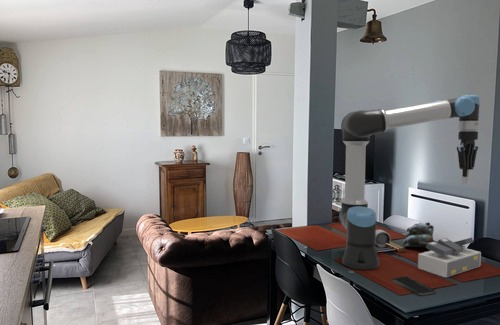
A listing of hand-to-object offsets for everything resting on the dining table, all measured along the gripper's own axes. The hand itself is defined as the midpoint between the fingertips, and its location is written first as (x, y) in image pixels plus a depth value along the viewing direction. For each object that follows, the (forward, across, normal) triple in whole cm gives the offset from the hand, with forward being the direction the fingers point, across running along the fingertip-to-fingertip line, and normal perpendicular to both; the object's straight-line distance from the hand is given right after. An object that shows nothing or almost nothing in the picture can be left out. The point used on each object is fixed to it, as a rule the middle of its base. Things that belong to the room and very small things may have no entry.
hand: (466, 184), depth 173 cm
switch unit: (+32, -20, -6) cm, 39 cm away
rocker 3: (+23, -12, -6) cm, 27 cm away
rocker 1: (+23, -28, -6) cm, 37 cm away
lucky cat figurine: (+33, -7, +18) cm, 38 cm away
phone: (+33, -50, -11) cm, 61 cm away
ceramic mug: (+33, -20, +31) cm, 49 cm away
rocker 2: (+23, -20, -6) cm, 31 cm away
